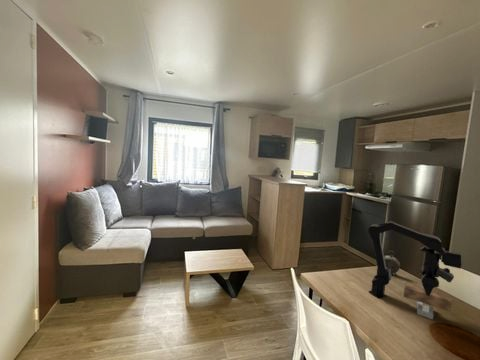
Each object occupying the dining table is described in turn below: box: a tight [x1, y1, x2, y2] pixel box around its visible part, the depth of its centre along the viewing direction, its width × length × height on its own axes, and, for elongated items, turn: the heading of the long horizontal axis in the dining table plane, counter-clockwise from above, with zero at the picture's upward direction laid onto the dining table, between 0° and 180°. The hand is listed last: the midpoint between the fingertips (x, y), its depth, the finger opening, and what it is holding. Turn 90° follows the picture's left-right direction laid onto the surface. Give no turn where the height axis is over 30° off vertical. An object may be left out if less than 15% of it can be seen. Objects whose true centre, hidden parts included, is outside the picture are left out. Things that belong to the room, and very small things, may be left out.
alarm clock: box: [384, 250, 401, 276], centre depth 151 cm, size 11×5×16 cm, turn 46°
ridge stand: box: [416, 301, 435, 320], centre depth 112 cm, size 6×10×5 cm, turn 141°
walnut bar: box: [403, 284, 453, 312], centre depth 112 cm, size 18×4×5 cm, turn 55°
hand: (427, 291), depth 111 cm, fingers open, 9 cm apart
